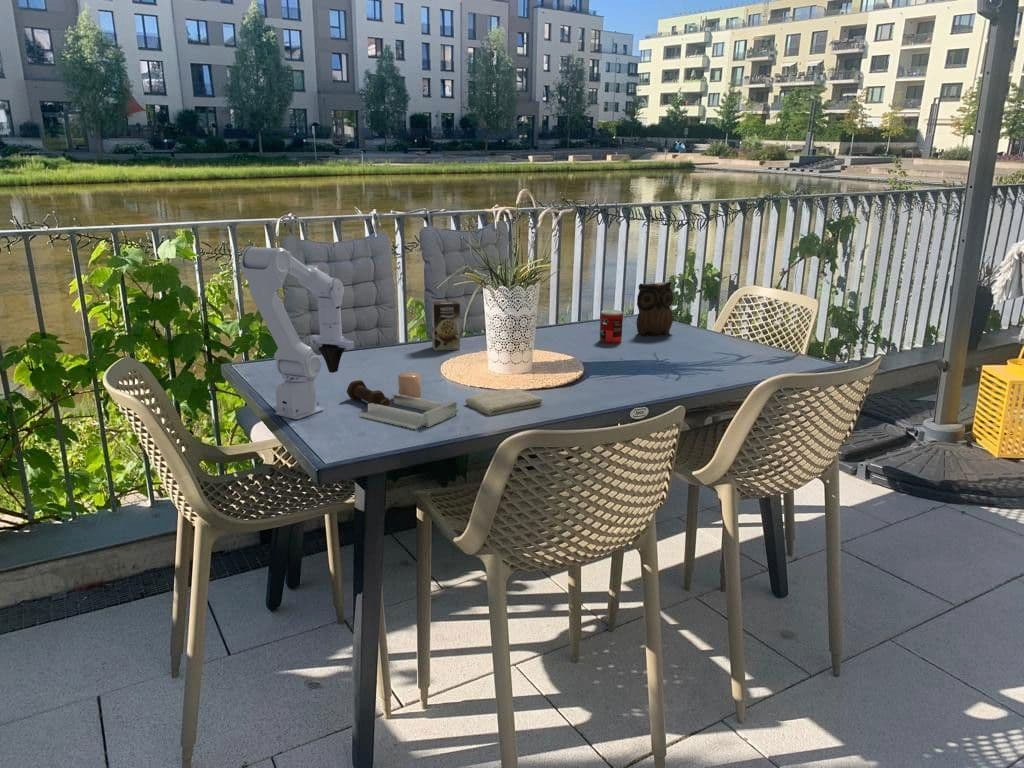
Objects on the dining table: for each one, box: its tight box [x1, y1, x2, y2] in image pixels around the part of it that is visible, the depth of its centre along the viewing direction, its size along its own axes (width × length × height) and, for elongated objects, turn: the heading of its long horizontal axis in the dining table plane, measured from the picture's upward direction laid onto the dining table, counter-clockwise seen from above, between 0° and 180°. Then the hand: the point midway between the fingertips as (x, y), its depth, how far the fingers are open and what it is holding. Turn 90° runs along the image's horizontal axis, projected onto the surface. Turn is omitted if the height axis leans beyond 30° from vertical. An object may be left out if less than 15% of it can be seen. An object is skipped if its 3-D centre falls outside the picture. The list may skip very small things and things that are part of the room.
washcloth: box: [465, 387, 543, 416], centre depth 200 cm, size 12×18×3 cm, turn 124°
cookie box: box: [431, 300, 461, 352], centre depth 260 cm, size 9×6×16 cm
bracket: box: [359, 392, 460, 431], centre depth 191 cm, size 18×20×4 cm
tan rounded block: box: [397, 371, 422, 398], centre depth 206 cm, size 6×6×6 cm
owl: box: [636, 281, 675, 337], centre depth 284 cm, size 13×13×20 cm
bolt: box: [346, 380, 391, 407], centre depth 199 cm, size 6×5×15 cm
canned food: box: [599, 309, 624, 345], centre depth 273 cm, size 8×8×11 cm
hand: (333, 371), depth 204 cm, fingers closed
